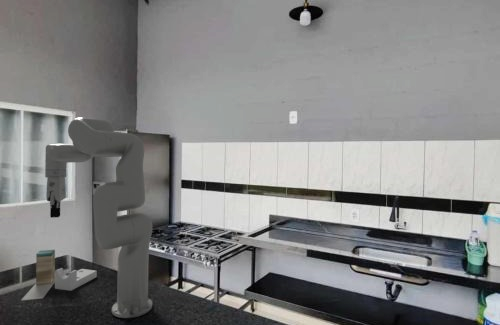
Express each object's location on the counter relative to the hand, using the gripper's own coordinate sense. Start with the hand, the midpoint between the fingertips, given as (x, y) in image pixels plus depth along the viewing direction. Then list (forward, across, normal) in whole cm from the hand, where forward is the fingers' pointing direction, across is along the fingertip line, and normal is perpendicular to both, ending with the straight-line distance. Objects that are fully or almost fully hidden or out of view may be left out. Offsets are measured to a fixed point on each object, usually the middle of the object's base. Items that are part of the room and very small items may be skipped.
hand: (55, 216), depth 128 cm
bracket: (+24, -15, -12) cm, 31 cm away
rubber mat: (+23, -17, 0) cm, 29 cm away
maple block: (+23, -12, 0) cm, 26 cm away
